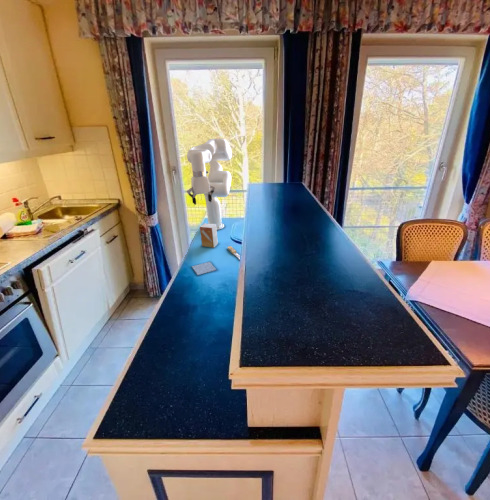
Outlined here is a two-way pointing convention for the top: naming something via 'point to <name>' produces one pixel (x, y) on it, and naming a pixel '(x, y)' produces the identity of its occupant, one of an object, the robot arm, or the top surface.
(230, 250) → the knife
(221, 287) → the top surface
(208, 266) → the cloth
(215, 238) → the small box
